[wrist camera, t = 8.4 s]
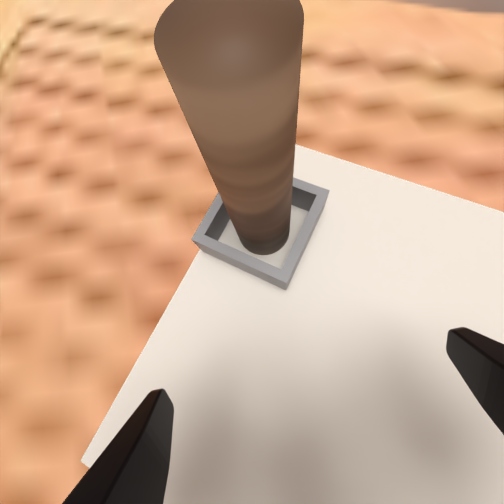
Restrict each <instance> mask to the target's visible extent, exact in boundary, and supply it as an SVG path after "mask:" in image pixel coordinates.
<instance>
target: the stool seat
mask: <svg viewBox="0 0 504 504" xmlns="http://www.w3.org/2000/svg"><path fill="white" fill-rule="evenodd" d="M191 240H192V241H193V242H194V243H195V244H196V245H197V246H198V247H199V248H200V250H199V252H198V253H197V255H196V257H195V259H194V260H193V262H192V264H191V266H190V268H189V269H188V271H187V273H186V275H185V276H184V278H183V280H182V282H181V284H180V285H179V287H178V289H177V291H176V292H175V294H174V296H173V298H172V299H171V301H170V303H169V305H168V307H167V308H166V310H165V312H164V314H163V315H162V317H161V319H160V321H159V322H158V324H157V326H156V328H155V330H154V331H153V333H152V335H151V337H150V338H149V340H148V342H147V344H146V346H145V347H144V349H143V351H142V353H141V354H140V356H139V358H138V360H137V361H136V363H135V365H134V367H133V369H132V370H131V372H130V374H129V376H128V377H127V379H126V381H125V383H124V384H123V386H122V388H121V390H120V392H119V393H118V395H117V397H116V399H115V400H114V402H113V404H112V406H111V407H110V409H109V411H108V413H107V415H106V416H105V418H104V420H103V422H102V423H101V425H100V427H99V429H98V431H97V432H96V434H95V436H94V438H93V439H92V441H91V443H90V445H89V446H88V448H87V450H86V452H85V454H84V455H83V457H82V459H81V462H83V463H84V464H85V465H86V466H88V467H89V468H90V467H91V466H92V465H93V464H94V462H95V461H96V460H97V458H98V457H99V456H100V455H101V453H102V452H103V451H104V449H105V448H106V447H107V446H108V444H109V443H110V442H111V441H112V439H113V438H114V437H115V435H116V434H117V433H118V432H119V430H120V429H121V428H122V426H123V425H124V424H125V423H126V421H127V420H128V419H129V418H130V416H131V415H132V414H133V412H134V411H135V410H136V409H137V407H138V406H139V405H140V403H141V402H142V401H143V400H144V398H145V397H146V396H147V395H148V393H149V392H150V391H152V390H156V389H161V388H163V389H165V391H166V392H167V394H168V396H169V397H170V399H171V401H172V403H173V406H174V419H173V431H172V444H171V456H170V466H169V472H168V478H167V484H166V490H165V496H164V502H163V504H504V435H503V434H502V432H501V431H500V430H499V428H498V427H497V426H496V425H495V423H494V422H493V421H492V420H491V418H490V417H489V416H488V414H487V413H486V412H485V411H484V409H483V408H482V407H481V405H480V404H479V402H478V401H477V399H476V398H475V396H474V395H473V393H472V392H471V390H470V389H469V387H468V386H467V384H466V383H465V381H464V379H463V378H462V376H461V375H460V373H459V372H458V370H457V369H456V367H455V366H454V364H453V363H452V361H451V360H450V358H449V356H448V354H447V352H446V343H447V334H448V331H449V330H450V329H453V328H458V327H466V328H468V329H471V330H473V331H475V332H477V333H480V334H482V335H484V336H487V337H489V338H491V339H493V340H496V341H498V342H500V343H502V344H504V212H502V211H499V210H496V209H492V208H489V207H486V206H483V205H480V204H477V203H474V202H471V201H468V200H465V199H462V198H459V197H456V196H453V195H449V194H446V193H443V192H440V191H437V190H434V189H431V188H428V187H425V186H422V185H419V184H416V183H413V182H410V181H406V180H403V179H400V178H397V177H394V176H391V175H388V174H385V173H382V172H379V171H376V170H373V169H370V168H367V167H363V166H360V165H357V164H354V163H351V162H348V161H345V160H342V159H339V158H336V157H333V156H330V155H327V154H323V153H320V152H317V151H314V150H311V149H308V148H305V147H302V146H299V145H296V144H295V158H294V172H293V187H292V202H291V217H290V231H289V237H288V240H287V242H286V244H285V245H284V246H283V247H282V248H281V249H280V250H279V251H277V252H275V253H273V254H269V255H257V254H254V253H251V252H250V251H248V250H247V249H246V248H245V247H244V246H243V245H242V243H241V241H240V239H239V237H238V235H237V232H236V230H235V228H234V226H233V223H232V221H231V219H230V217H229V214H228V212H227V210H226V208H225V205H224V203H223V201H222V199H221V196H220V194H219V193H218V194H217V196H216V198H215V199H214V201H213V203H212V205H211V206H210V208H209V210H208V212H207V213H206V215H205V217H204V218H203V220H202V222H201V224H200V225H199V227H198V229H197V231H196V232H195V234H194V236H193V237H192V239H191Z"/></svg>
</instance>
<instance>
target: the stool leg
mask: <svg viewBox="0 0 504 504" xmlns="http://www.w3.org/2000/svg"><path fill="white" fill-rule="evenodd" d="M303 25H304V13H303V8H302V5H301V3H300V1H299V0H174V1H173V2H172V3H171V4H170V5H169V6H168V7H167V8H166V10H165V11H164V12H163V14H162V15H161V17H160V19H159V21H158V23H157V25H156V28H155V33H154V45H155V50H156V52H157V55H158V57H159V60H160V62H161V64H162V66H163V69H164V71H165V73H166V75H167V78H168V80H169V82H170V84H171V86H172V89H173V91H174V93H175V95H176V98H177V100H178V102H179V104H180V107H181V109H182V111H183V113H184V116H185V118H186V120H187V122H188V125H189V127H190V129H191V131H192V134H193V136H194V138H195V140H196V143H197V145H198V147H199V149H200V152H201V154H202V156H203V158H204V161H205V163H206V165H207V167H208V170H209V172H210V174H211V176H212V179H213V181H214V183H215V185H216V188H217V190H218V192H219V194H220V196H221V199H222V201H223V203H224V205H225V208H226V210H227V212H228V214H229V217H230V219H231V221H232V223H233V226H234V228H235V230H236V232H237V235H238V237H239V239H240V241H241V243H242V245H243V246H244V247H245V248H246V249H247V250H248V251H250V252H251V253H254V254H257V255H269V254H273V253H275V252H277V251H279V250H280V249H281V248H282V247H283V246H284V245H285V244H286V242H287V240H288V237H289V231H290V217H291V202H292V187H293V172H294V158H295V143H296V128H297V113H298V99H299V84H300V69H301V54H302V40H303Z"/></svg>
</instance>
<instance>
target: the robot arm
mask: <svg viewBox="0 0 504 504" xmlns="http://www.w3.org/2000/svg"><path fill="white" fill-rule="evenodd" d="M446 352H447V354H448V356H449V358H450V360H451V361H452V363H453V364H454V366H455V367H456V369H457V370H458V372H459V373H460V375H461V376H462V378H463V379H464V381H465V383H466V384H467V386H468V387H469V389H470V390H471V392H472V393H473V395H474V396H475V398H476V399H477V401H478V402H479V404H480V405H481V407H482V408H483V409H484V411H485V412H486V413H487V414H488V416H489V417H490V418H491V420H492V421H493V422H494V423H495V425H496V426H497V427H498V428H499V430H500V431H501V432H502V434H503V435H504V344H502V343H500V342H498V341H496V340H493V339H491V338H489V337H487V336H484V335H482V334H480V333H477V332H475V331H473V330H471V329H468V328H466V327H458V328H453V329H450V330H449V331H448V334H447V343H446ZM173 419H174V406H173V403H172V401H171V399H170V397H169V396H168V394H167V392H166V391H165V389H163V388H161V389H156V390H152V391H150V392H149V393H148V395H147V396H146V397H145V398H144V400H143V401H142V402H141V403H140V405H139V406H138V407H137V409H136V410H135V411H134V412H133V414H132V415H131V416H130V418H129V419H128V420H127V421H126V423H125V424H124V425H123V426H122V428H121V429H120V430H119V432H118V433H117V434H116V435H115V437H114V438H113V439H112V441H111V442H110V443H109V444H108V446H107V447H106V448H105V449H104V451H103V452H102V453H101V455H100V456H99V457H98V458H97V460H96V461H95V462H94V464H93V465H92V466H91V467H90V469H89V470H88V471H87V472H86V474H85V475H84V476H83V478H82V479H81V480H80V481H79V483H78V484H77V485H76V487H75V488H74V489H73V490H72V492H71V493H70V494H69V495H68V497H67V498H66V499H65V501H64V502H63V503H62V504H163V502H164V496H165V490H166V484H167V478H168V472H169V466H170V456H171V444H172V431H173Z"/></svg>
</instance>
